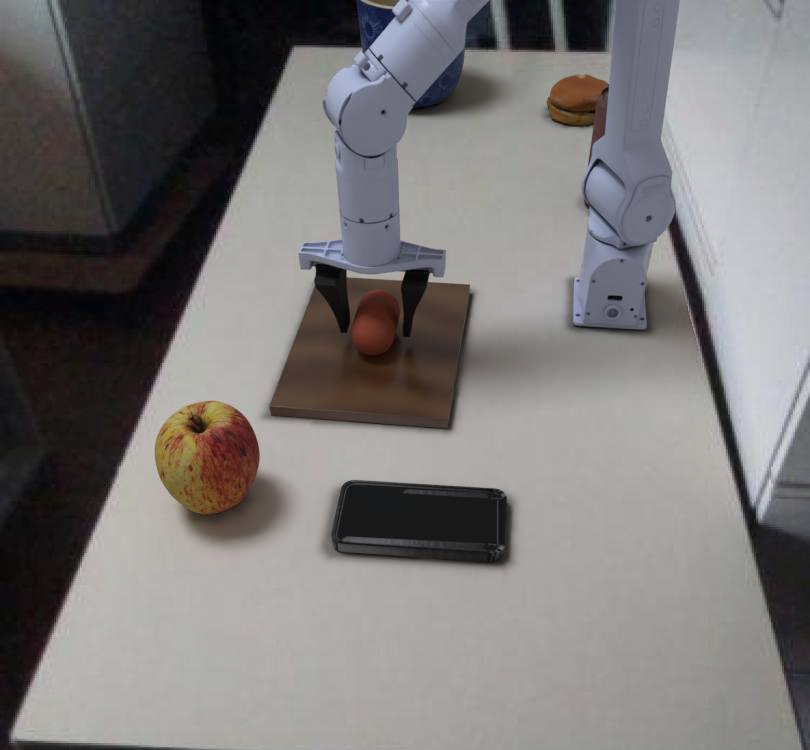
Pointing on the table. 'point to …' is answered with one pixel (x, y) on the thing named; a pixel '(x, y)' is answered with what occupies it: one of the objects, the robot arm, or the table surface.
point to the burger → (575, 99)
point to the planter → (374, 18)
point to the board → (376, 362)
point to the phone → (420, 520)
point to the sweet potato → (375, 322)
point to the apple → (207, 456)
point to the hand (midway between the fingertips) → (376, 329)
